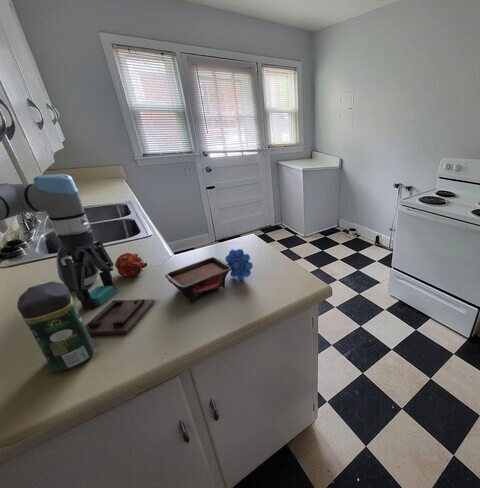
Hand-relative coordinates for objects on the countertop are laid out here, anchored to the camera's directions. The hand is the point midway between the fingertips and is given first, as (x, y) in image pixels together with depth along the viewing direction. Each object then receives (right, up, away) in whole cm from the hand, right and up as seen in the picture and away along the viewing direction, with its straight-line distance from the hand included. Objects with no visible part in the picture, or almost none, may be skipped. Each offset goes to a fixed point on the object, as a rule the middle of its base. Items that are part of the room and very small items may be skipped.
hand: (100, 298), depth 85 cm
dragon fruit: (0, +6, +15) cm, 16 cm away
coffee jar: (+12, -10, -21) cm, 26 cm away
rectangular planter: (+30, +2, +6) cm, 30 cm away
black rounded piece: (-13, +3, +9) cm, 16 cm away
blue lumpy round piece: (+41, +5, +12) cm, 43 cm away
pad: (0, 0, 0) cm, 0 cm away
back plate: (+13, -4, -8) cm, 16 cm away
